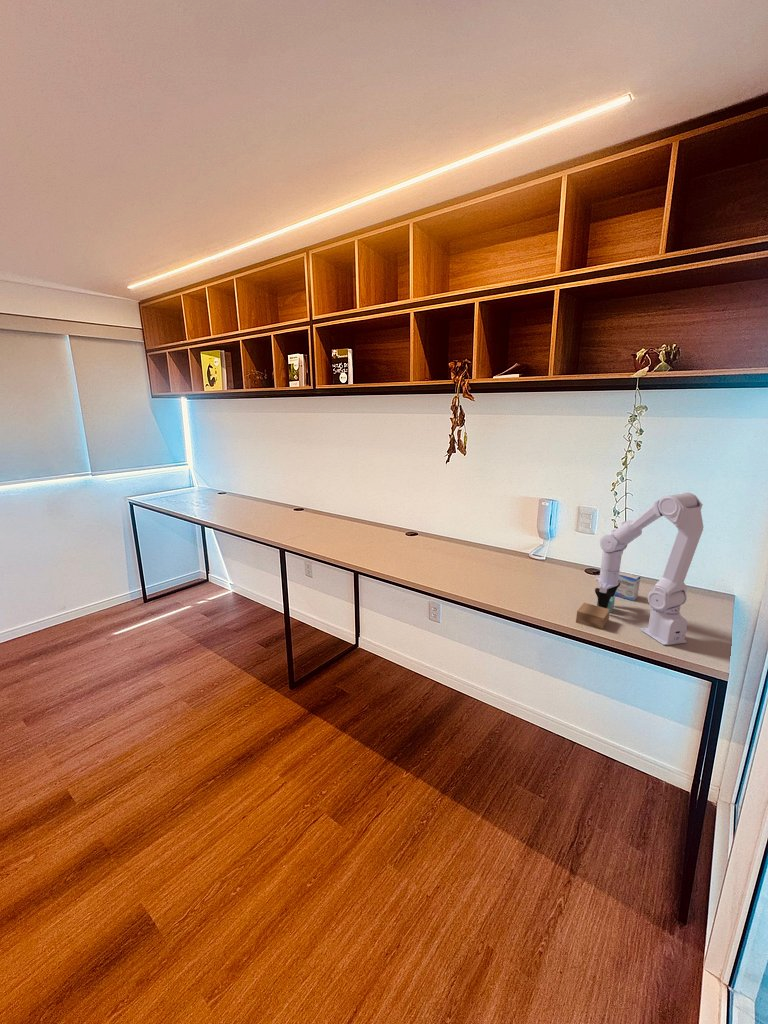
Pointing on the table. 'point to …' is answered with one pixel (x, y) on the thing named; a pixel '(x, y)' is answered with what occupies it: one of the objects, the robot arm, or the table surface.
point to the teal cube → (610, 604)
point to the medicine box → (628, 586)
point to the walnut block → (593, 616)
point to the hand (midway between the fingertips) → (605, 605)
